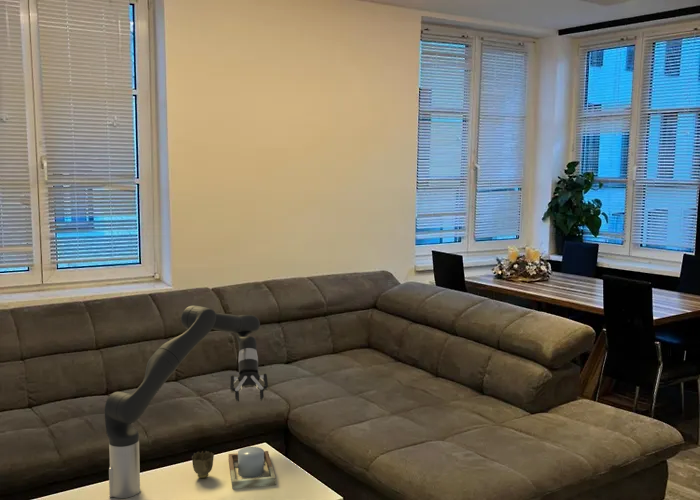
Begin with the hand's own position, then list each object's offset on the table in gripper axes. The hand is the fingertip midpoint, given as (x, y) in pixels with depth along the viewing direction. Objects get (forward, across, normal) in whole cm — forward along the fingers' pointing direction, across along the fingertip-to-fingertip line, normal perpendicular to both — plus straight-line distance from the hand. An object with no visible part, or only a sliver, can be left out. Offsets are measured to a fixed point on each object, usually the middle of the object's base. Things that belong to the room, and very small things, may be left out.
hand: (249, 401), depth 255 cm
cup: (+29, -17, -4) cm, 33 cm away
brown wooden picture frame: (+28, 0, -2) cm, 28 cm away
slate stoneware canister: (+28, 0, -2) cm, 28 cm away
